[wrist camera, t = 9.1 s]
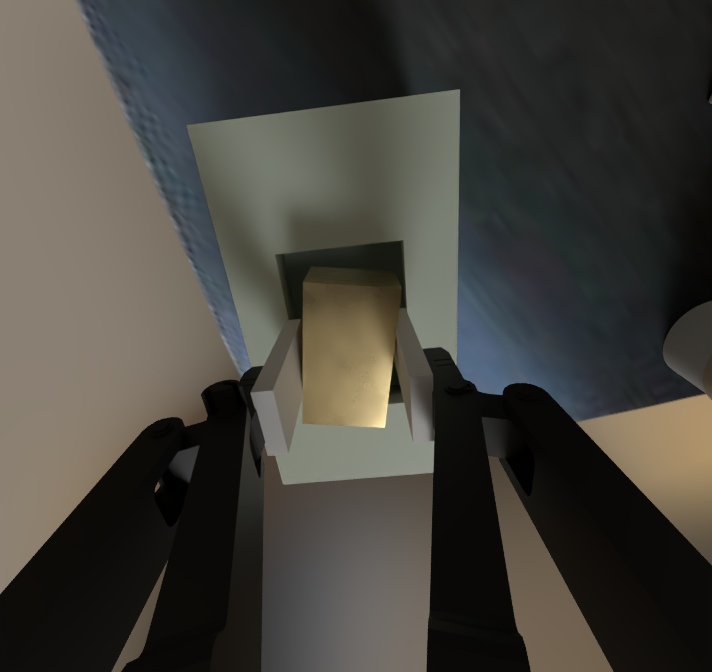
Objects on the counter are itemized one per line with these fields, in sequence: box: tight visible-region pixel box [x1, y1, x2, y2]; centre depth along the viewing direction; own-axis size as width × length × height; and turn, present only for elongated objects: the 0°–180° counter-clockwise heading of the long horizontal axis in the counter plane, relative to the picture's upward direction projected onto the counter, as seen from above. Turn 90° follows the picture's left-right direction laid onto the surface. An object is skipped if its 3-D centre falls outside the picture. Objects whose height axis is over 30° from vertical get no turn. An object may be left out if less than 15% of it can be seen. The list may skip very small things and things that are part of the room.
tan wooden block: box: [302, 266, 402, 428], centre depth 17 cm, size 7×4×3 cm, turn 176°
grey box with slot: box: [187, 89, 460, 485], centre depth 22 cm, size 20×11×10 cm, turn 6°
